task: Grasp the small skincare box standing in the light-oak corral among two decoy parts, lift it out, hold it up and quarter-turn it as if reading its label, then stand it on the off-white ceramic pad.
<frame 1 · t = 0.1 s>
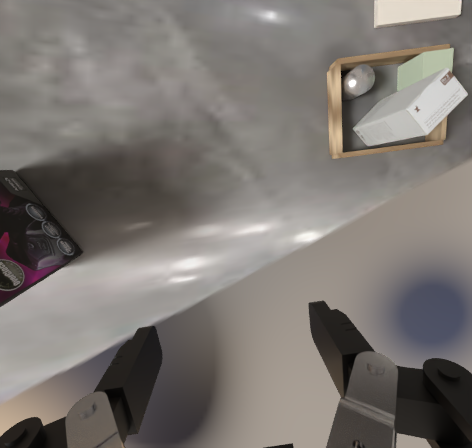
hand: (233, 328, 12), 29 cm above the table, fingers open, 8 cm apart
oak corral: (380, 108, 38), on the table
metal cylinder: (347, 88, 37), resting in oak corral
sage block: (410, 80, 37), resting in oak corral
graphics card box: (38, 223, 40), on the table
skincare box: (372, 122, 38), resting in oak corral
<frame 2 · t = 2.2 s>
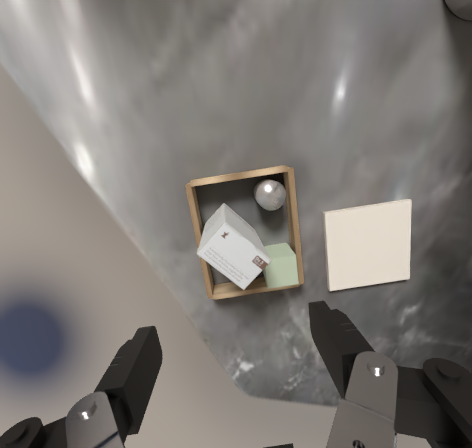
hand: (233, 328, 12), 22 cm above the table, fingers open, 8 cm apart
ceramic pad: (365, 245, 35), on the table
oak corral: (246, 230, 34), on the table
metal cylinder: (266, 192, 33), resting in oak corral
sage block: (274, 257, 35), resting in oak corral
skincare box: (231, 226, 34), resting in oak corral
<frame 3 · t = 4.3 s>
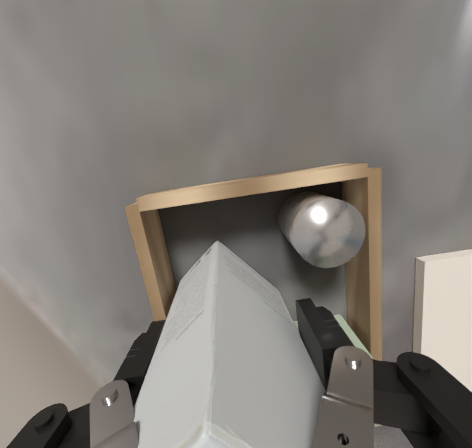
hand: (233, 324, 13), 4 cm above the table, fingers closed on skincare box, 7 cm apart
oak corral: (262, 293, 17), on the table
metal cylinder: (305, 218, 16), resting in oak corral
sage block: (315, 340, 18), resting in oak corral
skincare box: (232, 283, 17), resting in oak corral, touching gripper
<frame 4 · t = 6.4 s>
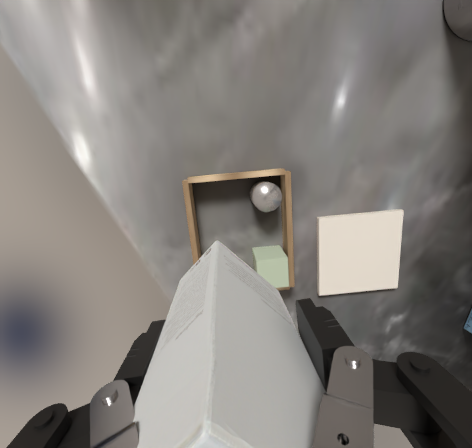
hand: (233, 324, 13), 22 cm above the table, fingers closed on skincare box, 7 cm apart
ceramic pad: (356, 252, 36), on the table
oak corral: (240, 231, 34), on the table
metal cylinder: (262, 193, 33), resting in oak corral
sage block: (266, 259, 35), resting in oak corral
skincare box: (232, 283, 17), point 17 cm above the table, touching gripper
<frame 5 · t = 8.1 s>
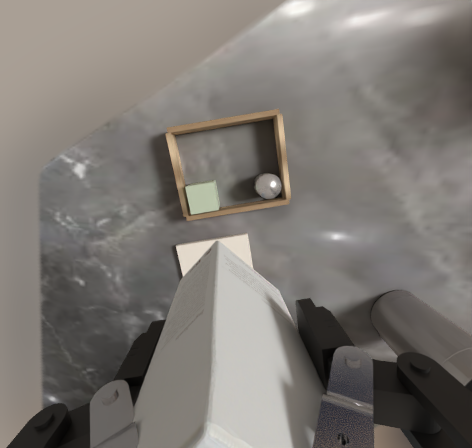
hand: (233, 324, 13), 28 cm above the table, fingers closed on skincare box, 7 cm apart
ceramic pad: (218, 271, 42), on the table
oak corral: (230, 167, 38), on the table
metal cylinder: (264, 184, 38), resting in oak corral
sage block: (205, 194, 38), resting in oak corral
skincare box: (232, 283, 17), point 23 cm above the table, touching gripper
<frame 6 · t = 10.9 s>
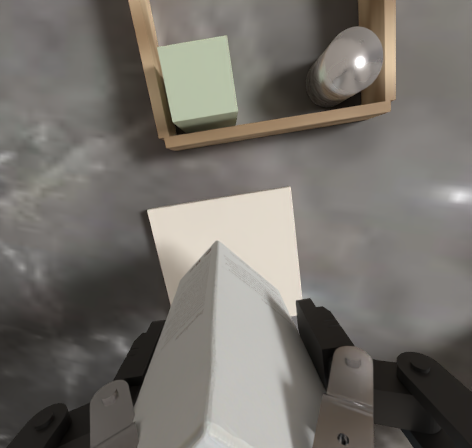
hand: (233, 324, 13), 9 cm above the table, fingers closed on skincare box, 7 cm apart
ceramic pad: (230, 262, 22), on the table
oak corral: (259, 41, 18), on the table
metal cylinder: (328, 82, 19), resting in oak corral
sage block: (206, 102, 19), resting in oak corral
skincare box: (232, 283, 17), point 5 cm above the table, touching gripper
when the fingers open (6 cm above the table, at t = 12.3 s): skincare box stays where it is, resting on ceramic pad.
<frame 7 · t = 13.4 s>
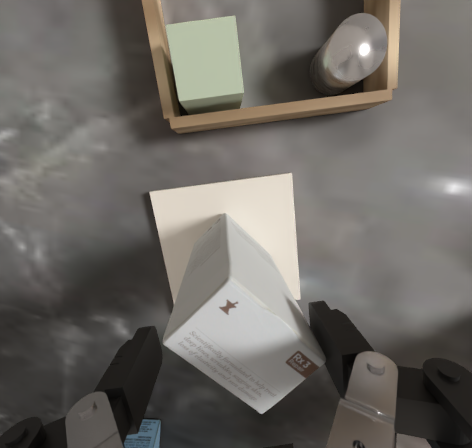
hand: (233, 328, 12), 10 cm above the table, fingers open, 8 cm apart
ceramic pad: (230, 246, 22), on the table
oak corral: (265, 26, 18), on the table
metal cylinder: (332, 70, 19), resting in oak corral
sage block: (211, 86, 19), resting in oak corral
skincare box: (235, 248, 22), point 1 cm above the table, touching ceramic pad
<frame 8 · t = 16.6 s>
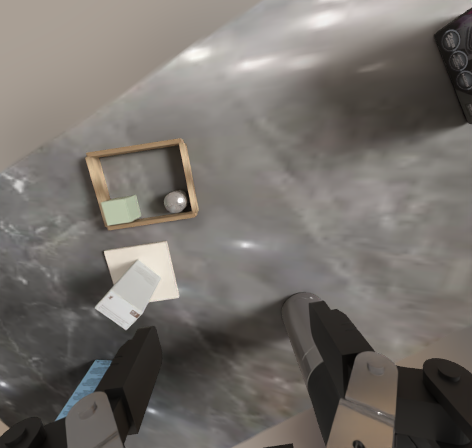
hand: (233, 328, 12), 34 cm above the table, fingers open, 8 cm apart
ceramic pad: (143, 273, 48), on the table
oak corral: (148, 184, 44), on the table
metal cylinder: (179, 199, 45), resting in oak corral
sage block: (128, 207, 45), resting in oak corral
graphics card box: (465, 70, 41), on the table
gum box: (108, 394, 55), on the table
skincare box: (145, 274, 47), point 1 cm above the table, touching ceramic pad
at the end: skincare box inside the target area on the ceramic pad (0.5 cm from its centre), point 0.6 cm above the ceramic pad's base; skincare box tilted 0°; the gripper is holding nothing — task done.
